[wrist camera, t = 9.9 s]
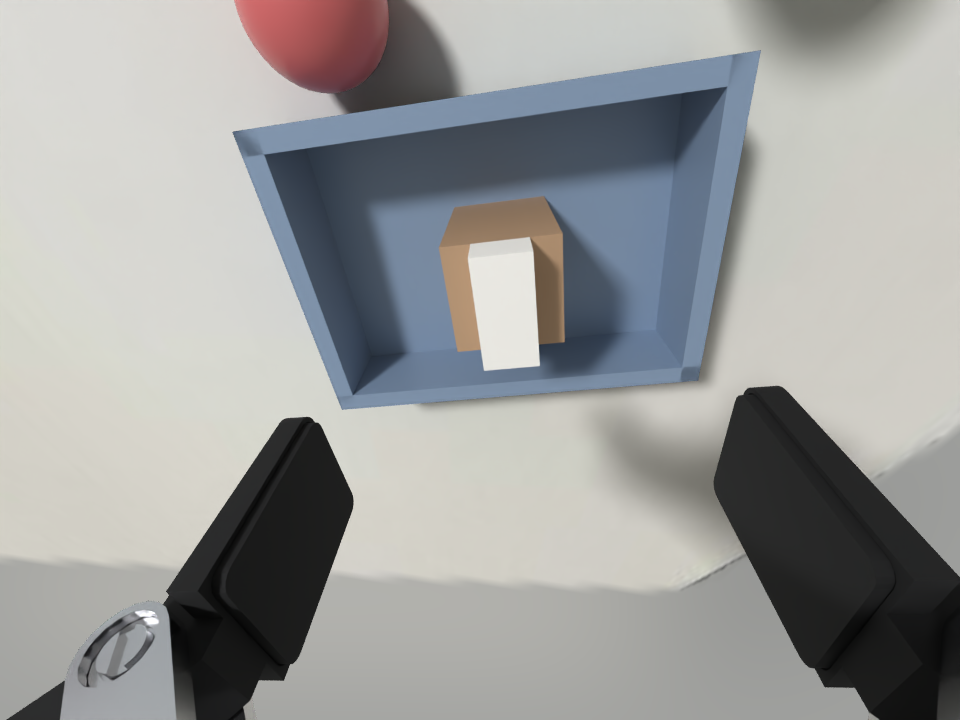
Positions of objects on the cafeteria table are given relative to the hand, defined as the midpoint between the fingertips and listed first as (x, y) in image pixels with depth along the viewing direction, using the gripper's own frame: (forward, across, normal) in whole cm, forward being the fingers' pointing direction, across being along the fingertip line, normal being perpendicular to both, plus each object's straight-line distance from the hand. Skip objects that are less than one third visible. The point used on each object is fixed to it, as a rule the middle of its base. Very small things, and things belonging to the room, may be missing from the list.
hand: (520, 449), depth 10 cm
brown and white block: (+17, +1, +1) cm, 17 cm away
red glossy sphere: (+18, +7, -11) cm, 22 cm away
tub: (+18, +1, +1) cm, 18 cm away
